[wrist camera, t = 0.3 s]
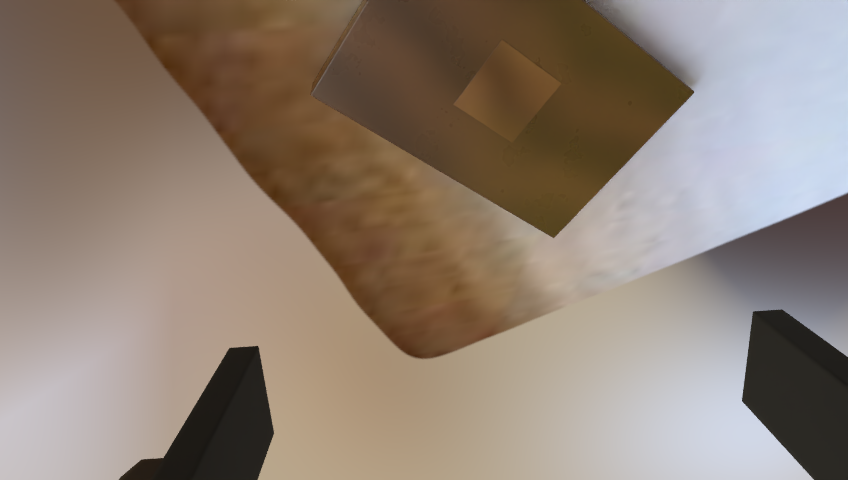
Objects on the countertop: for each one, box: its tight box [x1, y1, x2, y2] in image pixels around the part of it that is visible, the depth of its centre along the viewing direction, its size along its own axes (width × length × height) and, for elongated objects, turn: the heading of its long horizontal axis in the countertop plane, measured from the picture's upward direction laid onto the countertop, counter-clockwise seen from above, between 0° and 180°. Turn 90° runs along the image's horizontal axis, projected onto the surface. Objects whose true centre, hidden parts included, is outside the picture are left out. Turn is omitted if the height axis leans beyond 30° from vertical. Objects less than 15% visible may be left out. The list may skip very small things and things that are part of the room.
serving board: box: [311, 0, 694, 238], centre depth 39 cm, size 14×21×2 cm, turn 55°
